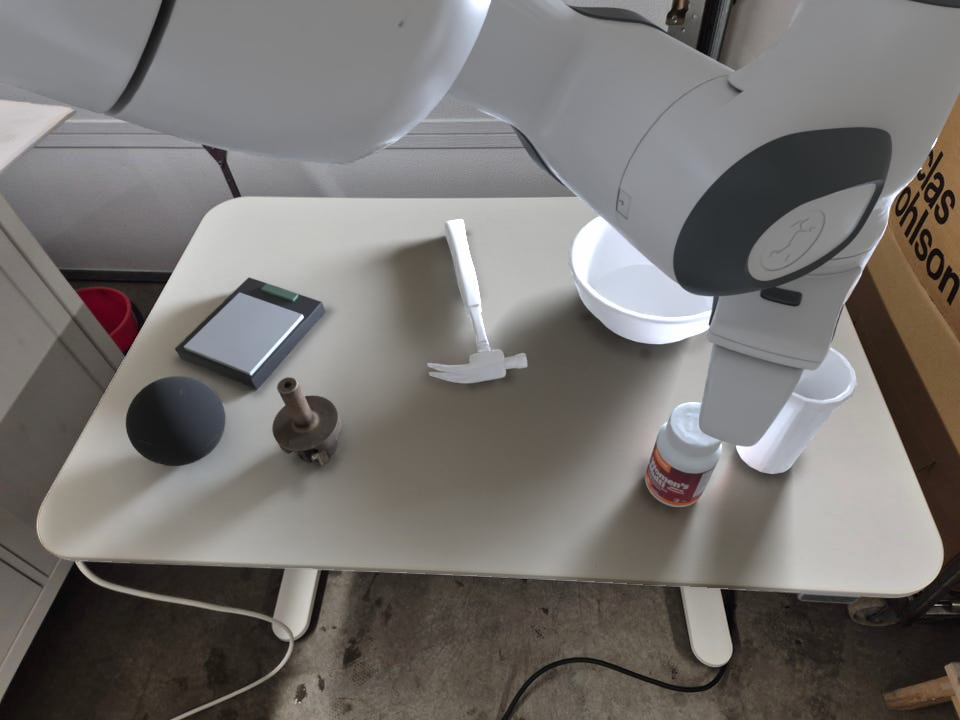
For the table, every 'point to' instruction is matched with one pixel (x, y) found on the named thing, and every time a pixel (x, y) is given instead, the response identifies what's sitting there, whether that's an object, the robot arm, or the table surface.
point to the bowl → (632, 289)
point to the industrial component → (306, 424)
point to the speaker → (175, 421)
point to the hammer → (484, 361)
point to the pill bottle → (682, 458)
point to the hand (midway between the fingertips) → (731, 381)
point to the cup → (802, 415)
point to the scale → (251, 332)
